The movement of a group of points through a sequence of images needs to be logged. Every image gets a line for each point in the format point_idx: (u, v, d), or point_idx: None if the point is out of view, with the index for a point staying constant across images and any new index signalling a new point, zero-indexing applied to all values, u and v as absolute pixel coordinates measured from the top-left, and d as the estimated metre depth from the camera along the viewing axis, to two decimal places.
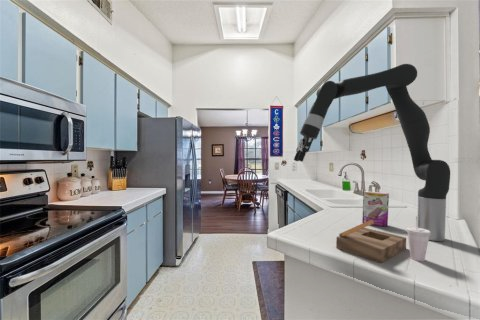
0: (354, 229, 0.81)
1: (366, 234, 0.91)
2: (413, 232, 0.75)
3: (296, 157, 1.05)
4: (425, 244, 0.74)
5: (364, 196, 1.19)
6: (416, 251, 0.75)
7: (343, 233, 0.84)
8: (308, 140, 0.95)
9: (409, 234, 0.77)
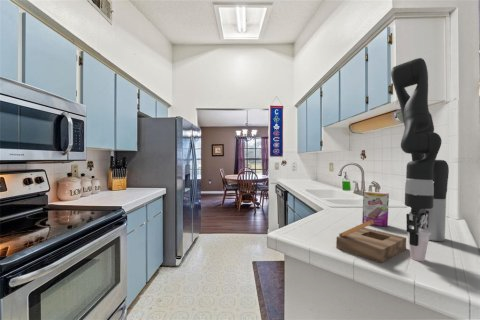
0: (354, 229, 0.81)
1: (366, 234, 0.91)
2: None
3: None
4: (425, 244, 0.74)
5: (364, 196, 1.19)
6: (416, 251, 0.75)
7: (343, 233, 0.84)
8: None
9: (409, 234, 0.77)
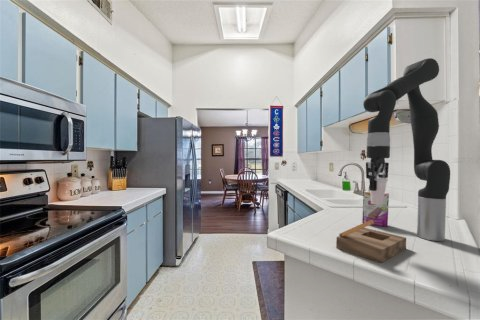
0: (354, 229, 0.81)
1: (366, 234, 0.91)
2: None
3: None
4: (382, 189, 0.85)
5: (364, 196, 1.19)
6: (375, 196, 0.86)
7: (343, 233, 0.84)
8: None
9: None
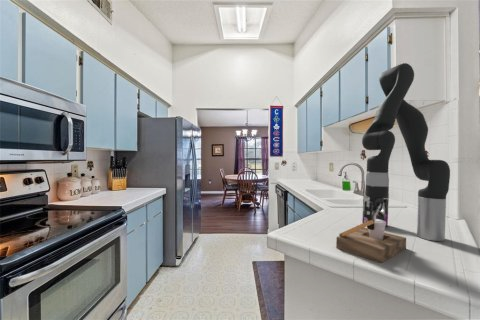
0: (354, 229, 0.81)
1: (366, 234, 0.91)
2: None
3: None
4: (381, 233, 0.85)
5: (364, 196, 1.19)
6: None
7: (343, 233, 0.84)
8: None
9: None
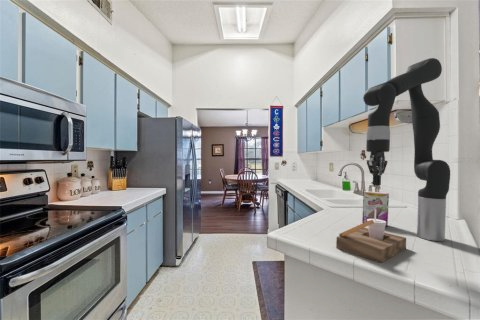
0: (354, 229, 0.81)
1: (366, 234, 0.91)
2: None
3: None
4: (381, 233, 0.85)
5: (364, 196, 1.19)
6: None
7: (343, 233, 0.84)
8: None
9: None
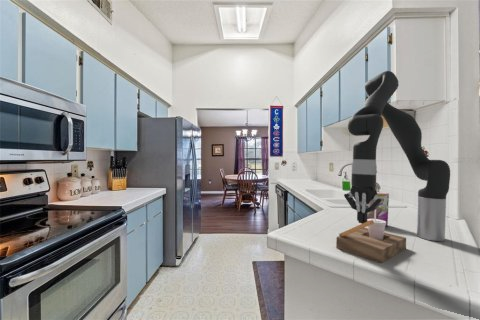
0: (354, 229, 0.81)
1: (366, 234, 0.91)
2: None
3: None
4: (381, 233, 0.85)
5: None
6: None
7: (343, 233, 0.84)
8: None
9: None
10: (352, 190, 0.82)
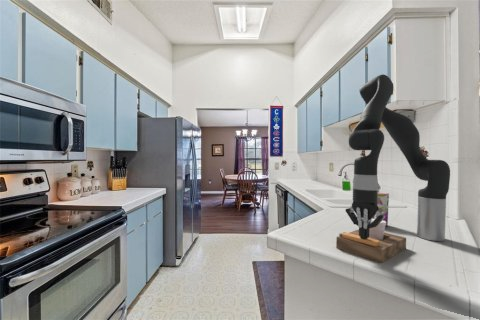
0: (357, 239, 0.80)
1: None
2: (371, 222, 0.86)
3: None
4: (381, 233, 0.85)
5: None
6: None
7: (344, 235, 0.84)
8: None
9: None
10: (353, 205, 0.81)
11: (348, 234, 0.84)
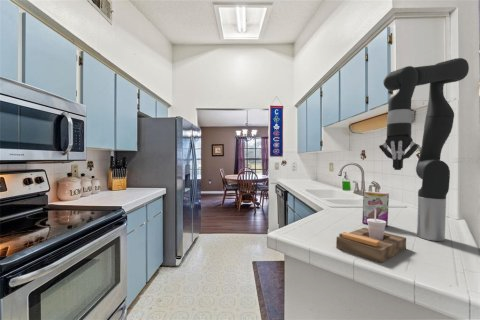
0: (357, 239, 0.80)
1: (366, 234, 0.91)
2: (371, 222, 0.86)
3: None
4: (381, 233, 0.85)
5: (364, 196, 1.19)
6: None
7: (344, 235, 0.84)
8: None
9: (368, 224, 0.87)
10: (387, 140, 0.88)
11: (348, 234, 0.84)
